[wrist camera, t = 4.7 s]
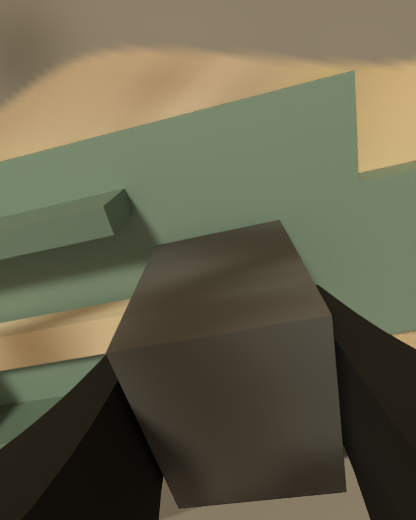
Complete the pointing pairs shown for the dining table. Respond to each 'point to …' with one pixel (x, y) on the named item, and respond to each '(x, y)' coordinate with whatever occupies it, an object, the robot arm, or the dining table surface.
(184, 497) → the block ended dumbbell
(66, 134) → the dining table surface
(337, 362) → the robot arm
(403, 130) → the dining table surface
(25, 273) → the green long flat piece
